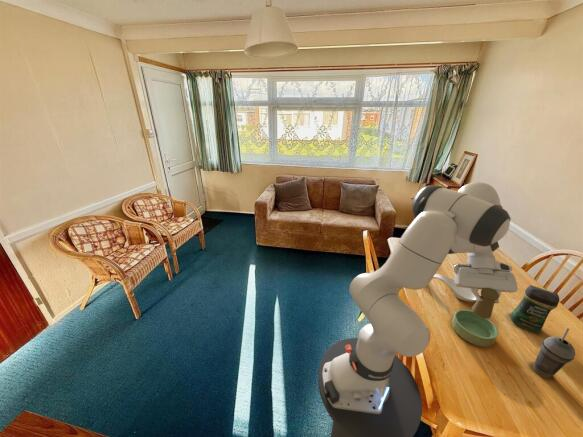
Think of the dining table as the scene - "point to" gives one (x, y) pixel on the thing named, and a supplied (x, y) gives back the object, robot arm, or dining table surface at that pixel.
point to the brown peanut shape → (485, 303)
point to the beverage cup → (553, 355)
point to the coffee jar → (534, 308)
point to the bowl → (474, 328)
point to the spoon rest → (457, 289)
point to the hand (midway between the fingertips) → (487, 302)
